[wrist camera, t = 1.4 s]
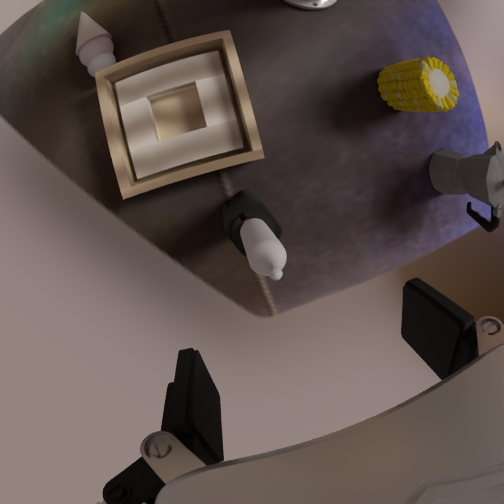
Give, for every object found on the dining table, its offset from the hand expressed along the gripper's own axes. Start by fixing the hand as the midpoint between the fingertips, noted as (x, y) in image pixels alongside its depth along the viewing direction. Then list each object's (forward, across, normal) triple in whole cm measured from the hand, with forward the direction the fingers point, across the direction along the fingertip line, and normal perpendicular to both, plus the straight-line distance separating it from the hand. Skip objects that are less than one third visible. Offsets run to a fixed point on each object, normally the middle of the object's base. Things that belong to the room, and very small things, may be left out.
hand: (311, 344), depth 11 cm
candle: (+32, 0, 0) cm, 32 cm away
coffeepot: (+32, -40, +2) cm, 52 cm away
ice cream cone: (+32, +16, -34) cm, 50 cm away
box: (+32, +5, -17) cm, 37 cm away
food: (+32, -31, -15) cm, 47 cm away
